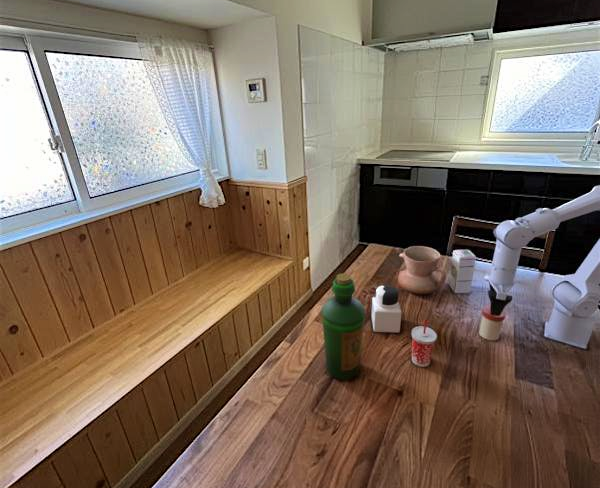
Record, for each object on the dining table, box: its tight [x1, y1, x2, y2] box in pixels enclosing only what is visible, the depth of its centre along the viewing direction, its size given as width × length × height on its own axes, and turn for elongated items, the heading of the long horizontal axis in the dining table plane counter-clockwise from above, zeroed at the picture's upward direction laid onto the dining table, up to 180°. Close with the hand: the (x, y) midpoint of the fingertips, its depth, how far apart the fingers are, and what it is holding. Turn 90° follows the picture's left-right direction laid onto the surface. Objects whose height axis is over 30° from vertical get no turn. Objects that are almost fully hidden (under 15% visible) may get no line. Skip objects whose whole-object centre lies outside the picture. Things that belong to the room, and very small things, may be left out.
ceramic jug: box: [397, 245, 447, 295], centre depth 119 cm, size 18×14×14 cm
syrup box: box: [448, 249, 477, 294], centre depth 118 cm, size 6×6×14 cm
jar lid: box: [481, 304, 507, 322], centre depth 95 cm, size 6×6×2 cm
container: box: [371, 284, 403, 334], centre depth 102 cm, size 8×8×13 cm
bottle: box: [321, 273, 366, 381], centre depth 83 cm, size 11×11×28 cm
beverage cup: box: [411, 316, 438, 368], centre depth 87 cm, size 6×6×14 cm
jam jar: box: [478, 314, 504, 341], centre depth 97 cm, size 5×5×8 cm
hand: (494, 307), depth 94 cm, fingers open, 6 cm apart
